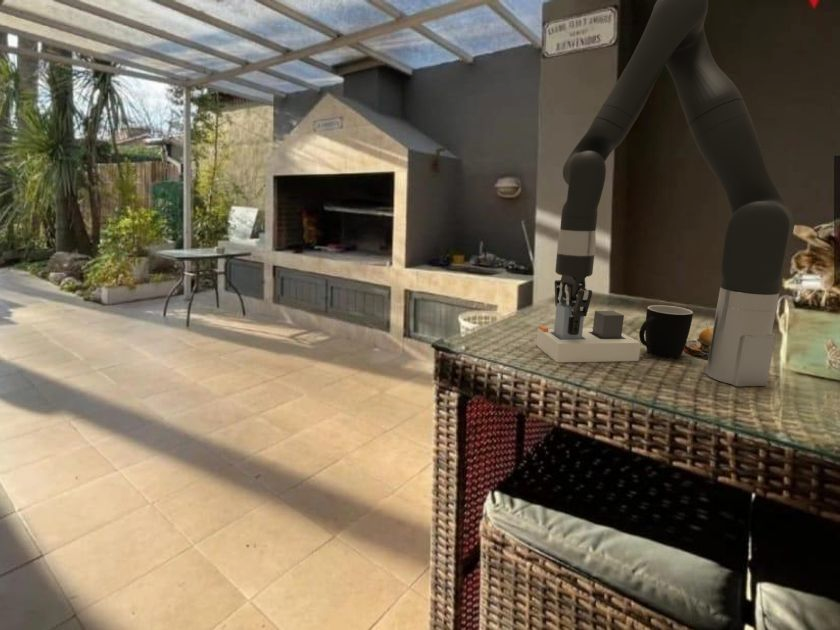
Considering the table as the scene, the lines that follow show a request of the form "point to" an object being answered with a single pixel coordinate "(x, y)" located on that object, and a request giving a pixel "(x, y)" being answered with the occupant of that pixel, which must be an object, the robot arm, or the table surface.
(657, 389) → the table surface
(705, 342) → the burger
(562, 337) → the plug
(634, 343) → the white socket base
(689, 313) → the mug
